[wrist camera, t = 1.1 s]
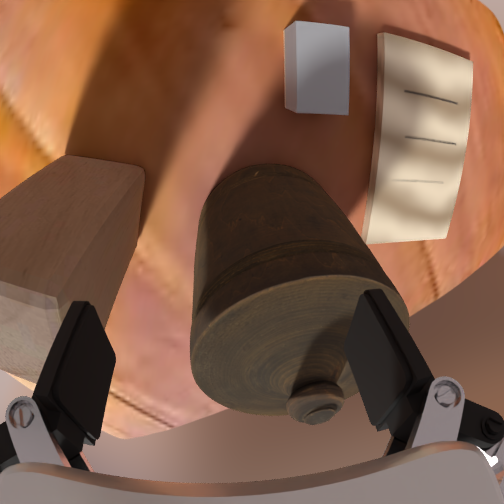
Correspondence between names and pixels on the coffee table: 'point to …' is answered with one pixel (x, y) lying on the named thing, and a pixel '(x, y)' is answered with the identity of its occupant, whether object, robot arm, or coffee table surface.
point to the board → (416, 140)
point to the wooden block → (63, 251)
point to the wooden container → (278, 295)
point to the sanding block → (317, 68)
